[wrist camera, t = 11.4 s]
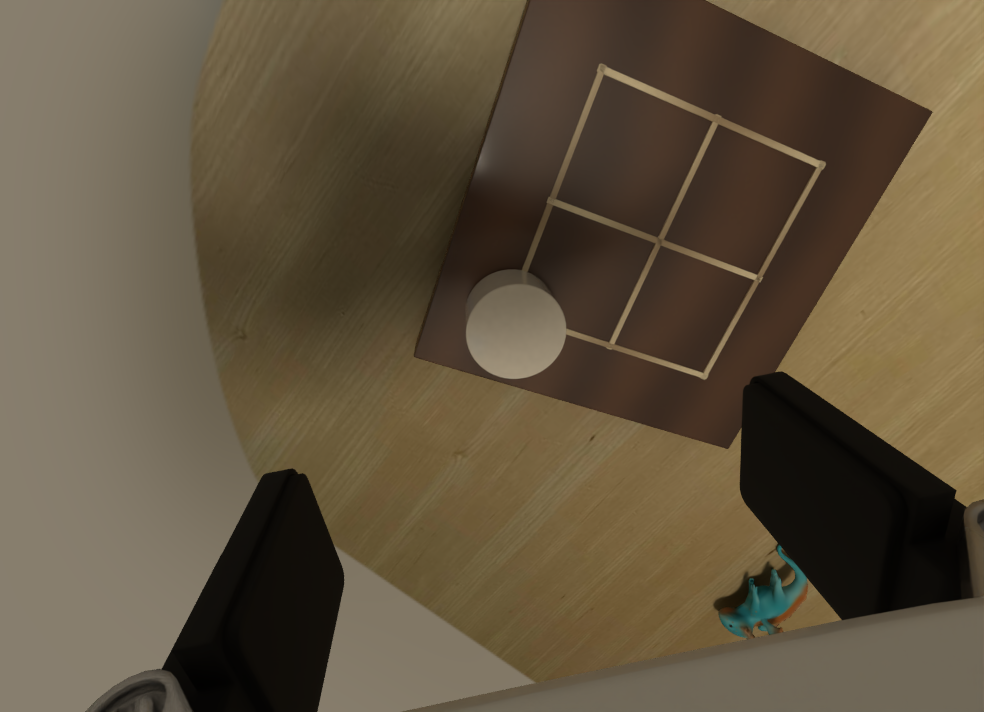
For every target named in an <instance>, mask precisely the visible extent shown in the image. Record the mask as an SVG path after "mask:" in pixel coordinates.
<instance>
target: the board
mask: <svg viewBox="0 0 984 712" xmlns="http://www.w3.org/2000/svg"><path fill="white" fill-rule="evenodd" d="M931 114H932V111H931V110H929V109H926V108H924V107H922V106H920V105H918V104H916V103H914V102H912V101H910V100H908V99H906V98H904V97H902V96H900V95H898V94H896V93H894V92H892V91H890V90H888V89H886V88H884V87H881V86H879V85H877V84H875V83H873V82H871V81H869V80H867V79H865V78H863V77H861V76H859V75H857V74H855V73H853V72H851V71H849V70H847V69H845V68H843V67H841V66H838V65H836V64H834V63H832V62H830V61H828V60H826V59H824V58H822V57H820V56H818V55H816V54H814V53H812V52H810V51H808V50H806V49H804V48H802V47H800V46H798V45H796V44H793V43H791V42H789V41H787V40H785V39H783V38H781V37H779V36H777V35H775V34H773V33H771V32H769V31H767V30H765V29H763V28H761V27H759V26H757V25H755V24H753V23H750V22H748V21H746V20H744V19H742V18H740V17H738V16H736V15H734V14H732V13H730V12H728V11H726V10H724V9H722V8H720V7H718V6H716V5H714V4H712V3H710V2H708V1H705V0H527V3H526V6H525V10H524V13H523V16H522V19H521V22H520V25H519V28H518V31H517V34H516V37H515V40H514V44H513V47H512V50H511V53H510V56H509V59H508V62H507V65H506V68H505V71H504V74H503V77H502V81H501V84H500V87H499V90H498V93H497V96H496V99H495V102H494V105H493V108H492V111H491V115H490V118H489V121H488V124H487V127H486V130H485V133H484V136H483V139H482V142H481V145H480V148H479V152H478V155H477V158H476V161H475V164H474V167H473V170H472V173H471V176H470V179H469V182H468V186H467V189H466V192H465V195H464V198H463V201H462V204H461V207H460V210H459V213H458V216H457V220H456V223H455V226H454V229H453V232H452V235H451V238H450V241H449V244H448V247H447V250H446V253H445V257H444V260H443V263H442V266H441V269H440V272H439V275H438V278H437V281H436V284H435V287H434V291H433V294H432V297H431V300H430V303H429V306H428V309H427V312H426V315H425V318H424V321H423V325H422V328H421V331H420V334H419V337H418V340H417V343H416V346H415V352H414V357H416V358H419V359H423V360H426V361H429V362H433V363H436V364H440V365H443V366H447V367H450V368H453V369H457V370H460V371H464V372H467V373H470V374H474V375H477V376H481V377H484V378H487V379H491V380H494V381H498V382H501V383H504V384H508V385H511V386H515V387H518V388H522V389H525V390H528V391H532V392H535V393H539V394H542V395H545V396H549V397H552V398H556V399H559V400H562V401H566V402H569V403H573V404H576V405H580V406H583V407H586V408H590V409H593V410H597V411H600V412H603V413H607V414H610V415H614V416H617V417H620V418H624V419H627V420H631V421H634V422H637V423H641V424H644V425H648V426H651V427H655V428H658V429H661V430H665V431H668V432H672V433H675V434H678V435H682V436H685V437H689V438H692V439H695V440H699V441H702V442H706V443H709V444H712V445H716V446H719V447H723V448H726V449H728V448H729V447H730V445H731V444H732V442H733V440H734V439H735V437H736V435H737V434H738V432H739V430H740V429H741V427H742V400H743V389H744V387H745V386H746V385H749V384H750V381H751V379H752V378H753V377H755V376H760V375H765V374H770V373H775V371H776V369H777V368H778V366H779V365H780V363H781V361H782V360H783V358H784V356H785V355H786V353H787V351H788V350H789V348H790V346H791V345H792V343H793V341H794V340H795V338H796V336H797V335H798V333H799V332H800V330H801V328H802V327H803V325H804V323H805V322H806V320H807V318H808V317H809V315H810V313H811V312H812V310H813V308H814V307H815V305H816V304H817V302H818V300H819V299H820V297H821V295H822V294H823V292H824V290H825V289H826V287H827V285H828V284H829V282H830V280H831V279H832V277H833V276H834V274H835V272H836V271H837V269H838V267H839V266H840V264H841V262H842V261H843V259H844V257H845V256H846V254H847V252H848V251H849V249H850V247H851V246H852V244H853V243H854V241H855V239H856V238H857V236H858V234H859V233H860V231H861V229H862V228H863V226H864V224H865V223H866V221H867V219H868V218H869V216H870V215H871V213H872V211H873V210H874V208H875V206H876V205H877V203H878V201H879V200H880V198H881V196H882V195H883V193H884V191H885V190H886V188H887V187H888V185H889V183H890V182H891V180H892V178H893V177H894V175H895V173H896V172H897V170H898V168H899V167H900V165H901V163H902V162H903V160H904V158H905V157H906V155H907V154H908V152H909V150H910V149H911V147H912V145H913V144H914V142H915V140H916V139H917V137H918V135H919V134H920V132H921V130H922V129H923V127H924V126H925V124H926V122H927V121H928V119H929V117H930V116H931ZM507 269H516V270H522V271H526V272H529V273H531V274H533V275H535V276H536V277H538V278H539V279H540V280H542V281H543V282H544V283H545V284H546V286H547V287H548V288H549V290H550V291H551V293H552V294H553V296H554V297H555V299H556V301H557V302H558V304H559V305H560V307H561V309H562V311H563V313H564V316H565V320H566V329H567V330H566V338H565V342H564V345H563V348H562V350H561V352H560V354H559V355H558V357H557V358H556V359H555V360H554V361H553V363H552V364H551V365H549V366H548V367H547V368H546V369H544V370H543V371H541V372H539V373H537V374H535V375H533V376H530V377H526V378H520V379H508V378H502V377H498V376H496V375H493V374H491V373H489V372H487V371H486V370H484V369H483V368H482V367H481V366H480V365H479V364H478V363H477V362H476V361H475V360H474V358H473V357H472V355H471V353H470V351H469V349H468V345H467V341H466V332H465V319H464V311H465V305H466V301H467V299H468V296H469V294H470V293H471V291H472V289H473V288H474V287H475V286H476V284H478V283H479V282H480V281H481V280H482V279H483V278H485V277H486V276H488V275H490V274H492V273H494V272H497V271H501V270H507Z"/></svg>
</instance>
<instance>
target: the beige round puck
mask: <svg viewBox="0 0 984 712" xmlns="http://www.w3.org/2000/svg"><path fill="white" fill-rule="evenodd" d="M464 319H465V332H466V341H467V345H468V349H469V351H470V353H471V355H472V357H473V358H474V360H475V361H476V362H477V363H478V364H479V365H480V366H481V367H482V368H483V369H484V370H486V371H487V372H489V373H491V374H493V375H496V376H498V377H502V378H508V379H520V378H526V377H530V376H533V375H535V374H537V373H539V372H541V371H543V370H544V369H546V368H547V367H548V366H549V365H551V364H552V363H553V361H554V360H555V359H556V358H557V357H558V355H559V354H560V352H561V350H562V348H563V345H564V342H565V338H566V330H567V329H566V320H565V316H564V313H563V311H562V309H561V307H560V305H559V304H558V302H557V301H556V299H555V297H554V296H553V294H552V293H551V291H550V290H549V288H548V287H547V286H546V284H545V283H544V282H543V281H542V280H540V279H539V278H538V277H536V276H535V275H533V274H531V273H529V272H526V271H522V270H516V269H507V270H501V271H497V272H494V273H492V274H490V275H488V276H486V277H485V278H483V279H482V280H481V281H480V282H479V283H478V284H476V286H475V287H474V288H473V289H472V291H471V293H470V294H469V296H468V299H467V301H466V305H465V311H464Z"/></svg>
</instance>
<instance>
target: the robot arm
mask: <svg viewBox="0 0 984 712" xmlns="http://www.w3.org/2000/svg"><path fill="white" fill-rule="evenodd" d="M740 491H741V495H742V498H743V500H744V502H745V503H746V505H747V506H748V507H749V508H750V510H751V511H752V512H753V513H754V515H755V516H756V517H757V518H758V519H759V521H760V522H761V523H762V524H763V525H764V527H765V528H766V529H767V530H768V531H769V533H770V534H771V535H772V536H773V537H774V539H775V540H776V541H777V542H778V543H779V545H780V546H781V547H782V548H783V549H784V551H785V552H786V553H787V554H788V555H789V557H790V558H791V559H792V560H793V561H794V563H795V564H796V565H797V566H798V567H799V569H800V570H801V571H802V572H803V573H804V575H805V576H806V577H807V578H808V579H809V581H810V582H811V583H812V584H813V586H814V587H815V588H816V589H817V590H818V592H819V593H820V594H821V595H822V596H823V598H824V599H825V600H826V601H827V602H828V604H829V605H830V606H831V607H832V608H833V610H834V611H835V612H836V613H837V614H838V616H839V617H840V618H841V619H842V620H841V621H836V622H831V623H826V624H821V625H816V626H811V627H806V628H801V629H796V630H791V631H786V632H782V633H777V634H772V635H767V636H762V637H757V638H752V639H747V640H742V641H737V642H732V643H727V644H722V645H717V646H712V647H707V648H702V649H697V650H693V651H688V652H683V653H678V654H673V655H668V656H664V657H659V658H654V659H649V660H644V661H639V662H635V663H630V664H625V665H620V666H615V667H610V668H606V669H601V670H596V671H591V672H587V673H582V674H577V675H572V676H567V677H563V678H558V679H553V680H548V681H544V682H539V683H534V684H529V685H525V686H520V687H515V688H510V689H506V690H501V691H497V692H492V693H487V694H482V695H478V696H473V697H468V698H464V699H459V700H454V701H450V702H445V703H441V704H436V705H431V706H427V707H422V708H417V709H412V710H408V711H403V712H984V499H983V500H980V501H976V502H973V503H971V504H970V505H969V506H968V507H966V506H964V505H963V504H961V503H960V502H959V501H957V500H956V499H954V498H955V494H956V490H955V489H954V488H952V487H951V486H949V485H948V484H946V483H945V482H943V481H942V480H940V479H939V478H938V477H936V476H935V475H933V474H932V473H930V472H929V471H927V470H926V469H924V468H923V467H922V466H920V465H919V464H917V463H916V462H914V461H913V460H911V459H910V458H908V457H907V456H906V455H904V454H903V453H901V452H900V451H898V450H897V449H895V448H894V447H892V446H891V445H890V444H888V443H887V442H885V441H884V440H882V439H881V438H879V437H878V436H876V435H875V434H874V433H872V432H871V431H869V430H868V429H866V428H865V427H863V426H862V425H860V424H859V423H858V422H856V421H855V420H853V419H852V418H850V417H849V416H847V415H846V414H844V413H843V412H842V411H840V410H839V409H837V408H836V407H834V406H833V405H831V404H830V403H828V402H827V401H826V400H824V399H823V398H821V397H820V396H818V395H817V394H815V393H814V392H812V391H811V390H810V389H808V388H807V387H805V386H804V385H802V384H801V383H799V382H798V381H796V380H795V379H794V378H792V377H791V376H789V375H788V374H786V373H784V372H775V373H770V374H765V375H760V376H755V377H753V378H752V379H751V381H750V384H749V385H746V386H745V387H744V389H743V400H742V432H741V464H740ZM343 587H344V572H343V568H342V565H341V563H340V560H339V557H338V555H337V552H336V550H335V547H334V545H333V542H332V539H331V537H330V534H329V532H328V529H327V527H326V524H325V522H324V519H323V516H322V514H321V511H320V509H319V506H318V504H317V501H316V498H315V496H314V493H313V491H312V488H311V486H310V483H309V480H308V478H307V476H306V475H305V474H303V473H302V474H298V473H297V472H296V470H295V469H287V470H282V471H277V472H272V473H267V474H264V475H263V476H262V478H261V480H260V482H259V483H258V485H257V487H256V489H255V491H254V493H253V495H252V497H251V499H250V501H249V503H248V505H247V507H246V509H245V511H244V512H243V514H242V516H241V518H240V520H239V522H238V524H237V526H236V528H235V530H234V532H233V534H232V536H231V538H230V539H229V542H228V543H227V545H226V547H225V549H224V551H223V553H222V555H221V556H220V558H219V560H218V562H217V564H216V566H215V567H214V569H213V572H212V574H211V575H210V577H209V579H208V581H207V583H206V585H205V587H204V589H203V591H202V592H201V594H200V596H199V598H198V600H197V602H196V604H195V606H194V608H193V610H192V612H191V614H190V616H189V618H188V620H187V622H186V623H185V625H184V627H183V629H182V631H181V633H180V635H179V637H178V639H177V641H176V643H175V644H174V647H173V648H172V650H171V652H170V654H169V656H168V658H167V660H166V662H165V664H164V666H163V668H162V670H161V669H157V670H149V671H144V672H141V673H139V674H136V675H134V676H131V677H129V678H127V679H125V680H124V681H122V682H120V683H119V684H117V685H115V686H114V687H112V688H111V689H110V690H108V691H107V692H106V693H105V694H104V695H102V696H101V697H100V698H98V699H97V700H96V701H95V702H94V703H93V705H91V706H90V707H89V708H88V710H87V711H86V712H317V711H318V706H319V701H320V696H321V692H322V687H323V682H324V677H325V673H326V668H327V663H328V659H329V654H330V649H331V644H332V639H333V634H334V630H335V625H336V621H337V616H338V611H339V606H340V602H341V597H342V592H343Z"/></svg>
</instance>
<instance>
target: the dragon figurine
mask: <svg viewBox="0 0 984 712" xmlns="http://www.w3.org/2000/svg"><path fill="white" fill-rule="evenodd" d="M781 548H782V547H781V546H780V545H778V547H777V551H778V554H779V556H780V557H781V558H782V559H783V560H784V561H786V562H787V563H788V564H789V565H790V566H791V567H792V568H793V570H794V571H795V579H794V581H793V582H792V583H791V584H789V585H787V586H784V587H782V586H781V579H780V578H779V577H778V575H777V572H776V570H773V568H772V571H771V578H770V586H765V585H762V586H758V587H757V586H756V587H755V585H754V579H752V578H750V579H749V592H748V596H747V598H746V601H745V602H744V603H743V604H741V605H740V606H738V607H736V608H733V607H724V608H722V609H721V610H720V611H719V618H720V620H721V622H722V624H723V625H724V626H725V627H726V628H727V629H728V630H729V631H730V632H732V633H733V634H735V635H737V636H740V637H744V638H747V639H752V638H756V637H755V636H754V635H753V634H752V631H753V628H754V627H755V626H758V629H759V630H761V631H768V633H769V635H772V634H777V633H782V632H783V630H782V628H777V626H778V625H779V623H781V622H782V621H785V620H786V619H787V618H790V617H791V615H792V614H793V613H794V612H795V611H796V610H797V609H798V608H799V607H800V606H801V605H802V603H803V602H804V601H805V600H806V594H807V589H808V584H807V578H806V576H805V575H804V573H803V572H802V571H801V570H800V569H799V567H798V566H797V565H796V564H795V563H794V561H793V560H792V559H790V558H788V557H787V556H785V555H784V554H783V553H782V552H781Z"/></svg>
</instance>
